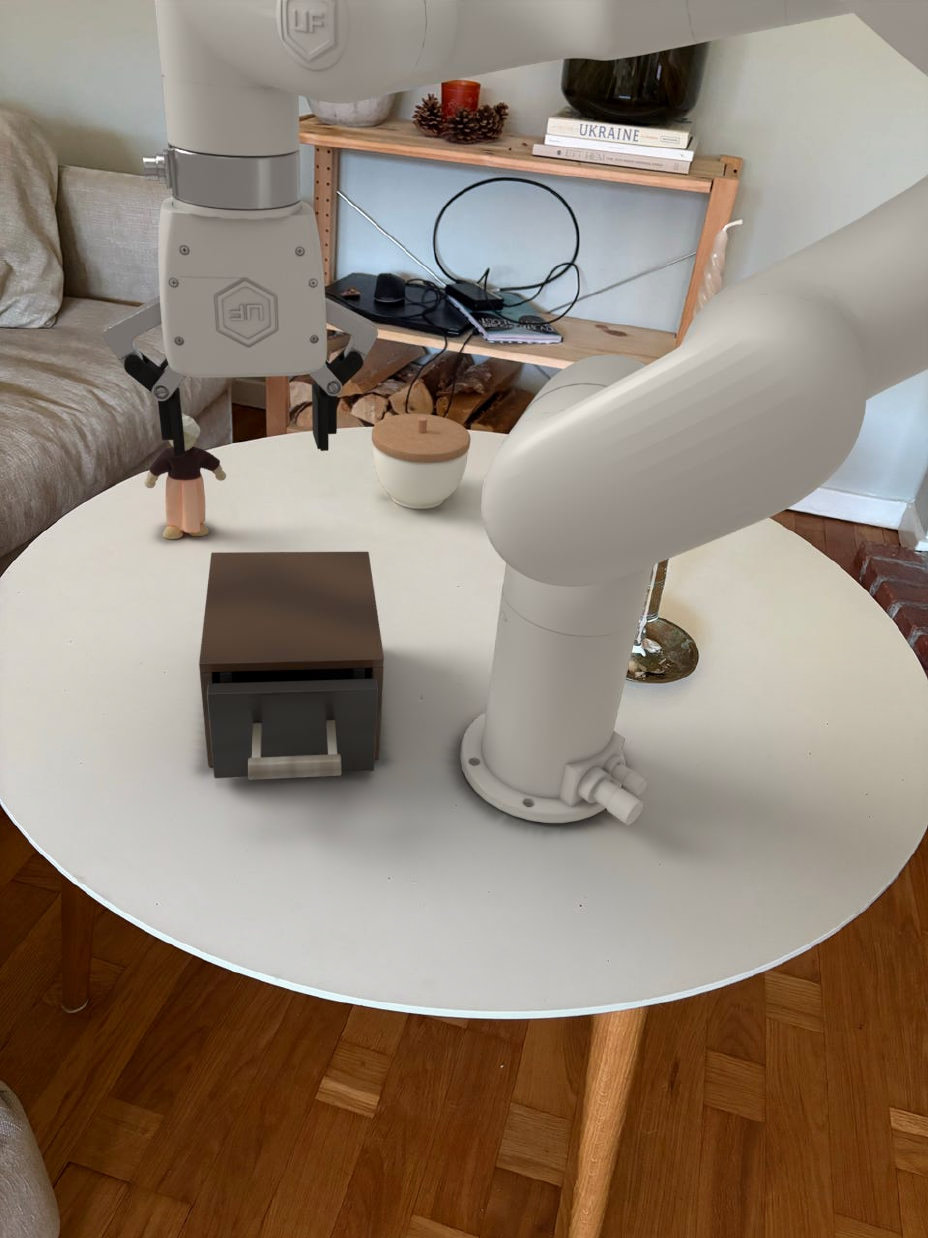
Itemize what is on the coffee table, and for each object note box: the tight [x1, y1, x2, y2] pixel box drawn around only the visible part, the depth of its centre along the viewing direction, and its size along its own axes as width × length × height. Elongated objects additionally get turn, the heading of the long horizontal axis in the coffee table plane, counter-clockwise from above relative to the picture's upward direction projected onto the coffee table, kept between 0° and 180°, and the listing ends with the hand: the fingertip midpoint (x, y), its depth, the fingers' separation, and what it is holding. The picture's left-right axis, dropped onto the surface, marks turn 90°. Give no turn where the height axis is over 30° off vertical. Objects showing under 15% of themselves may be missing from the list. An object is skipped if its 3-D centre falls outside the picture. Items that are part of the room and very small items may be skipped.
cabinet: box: [198, 551, 385, 767], centre depth 75 cm, size 15×13×10 cm
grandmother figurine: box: [144, 412, 227, 540], centre depth 94 cm, size 8×4×13 cm, turn 122°
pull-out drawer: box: [207, 668, 378, 781], centre depth 70 cm, size 18×11×8 cm, turn 9°
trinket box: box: [371, 413, 472, 510], centre depth 105 cm, size 11×11×9 cm
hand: (251, 445), depth 67 cm, fingers open, 9 cm apart
